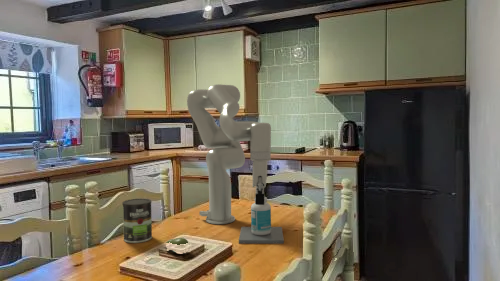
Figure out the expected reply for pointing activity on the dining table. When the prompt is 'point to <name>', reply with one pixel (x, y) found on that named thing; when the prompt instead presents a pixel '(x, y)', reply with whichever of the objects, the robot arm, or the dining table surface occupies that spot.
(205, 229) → the dining table surface
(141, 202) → the coffee can
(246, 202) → the dining table surface
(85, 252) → the dining table surface
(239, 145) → the robot arm
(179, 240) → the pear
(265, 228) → the pill bottle
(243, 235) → the plate
